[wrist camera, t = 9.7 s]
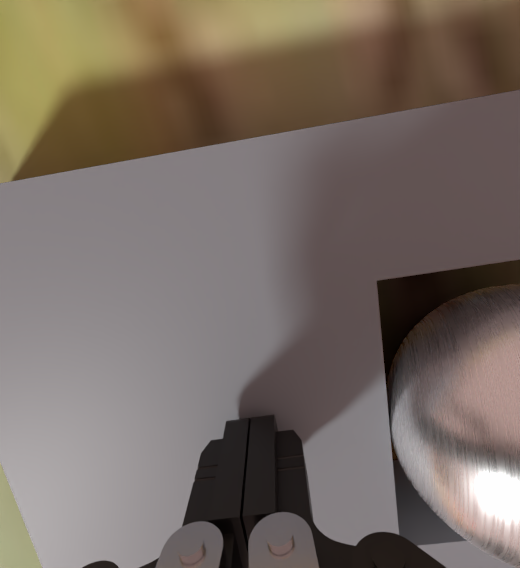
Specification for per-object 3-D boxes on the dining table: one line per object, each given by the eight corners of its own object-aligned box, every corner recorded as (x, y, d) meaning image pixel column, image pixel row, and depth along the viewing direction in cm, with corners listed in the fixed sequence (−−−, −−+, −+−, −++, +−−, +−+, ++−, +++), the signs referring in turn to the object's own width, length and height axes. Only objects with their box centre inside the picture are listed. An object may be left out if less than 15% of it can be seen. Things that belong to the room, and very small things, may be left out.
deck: (0, 198, 14) (-104, 202, 10) (738, 67, 12) (956, 11, 8) (120, 562, 18) (80, 662, 15) (676, 508, 17) (799, 606, 13)
